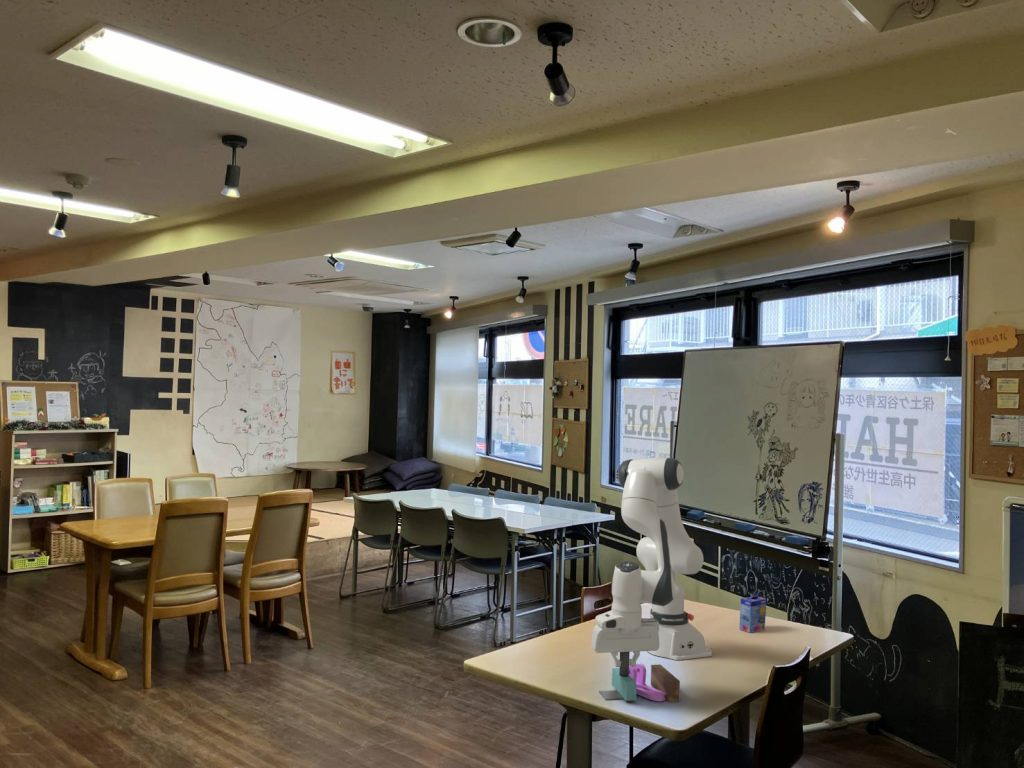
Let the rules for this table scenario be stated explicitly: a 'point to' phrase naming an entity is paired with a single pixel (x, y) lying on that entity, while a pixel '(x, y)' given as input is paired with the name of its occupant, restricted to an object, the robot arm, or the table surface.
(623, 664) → the clamp jaw
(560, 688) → the table surface
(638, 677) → the bracket
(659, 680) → the base
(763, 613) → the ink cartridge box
